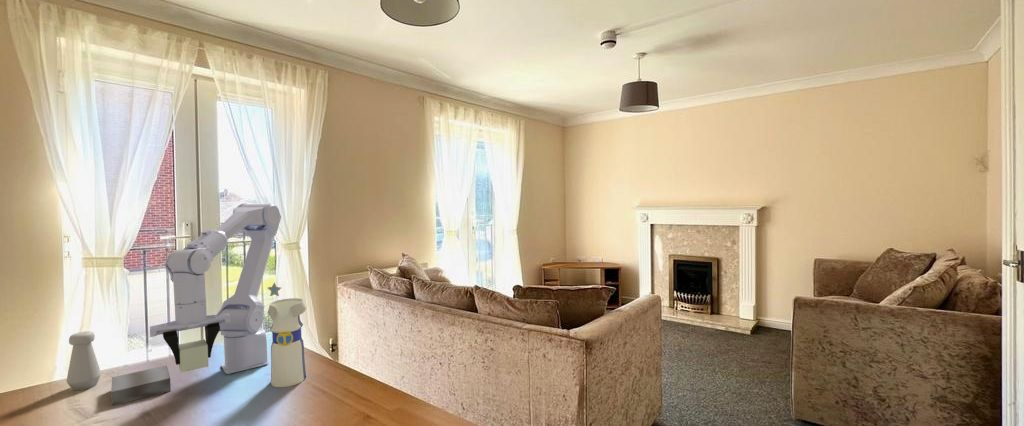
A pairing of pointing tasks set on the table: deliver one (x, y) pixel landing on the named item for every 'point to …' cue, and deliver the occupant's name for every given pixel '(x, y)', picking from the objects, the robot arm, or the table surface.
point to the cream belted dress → (286, 340)
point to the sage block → (193, 355)
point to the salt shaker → (83, 362)
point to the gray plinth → (140, 384)
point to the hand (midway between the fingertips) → (193, 359)
